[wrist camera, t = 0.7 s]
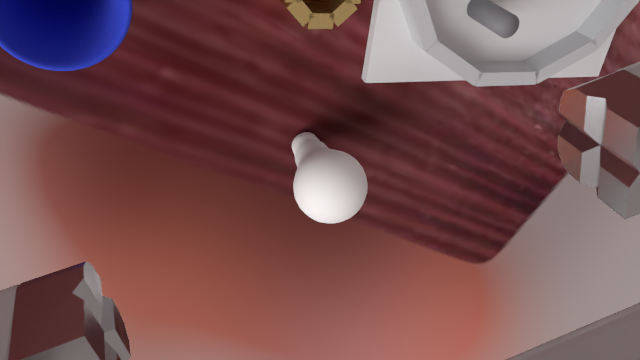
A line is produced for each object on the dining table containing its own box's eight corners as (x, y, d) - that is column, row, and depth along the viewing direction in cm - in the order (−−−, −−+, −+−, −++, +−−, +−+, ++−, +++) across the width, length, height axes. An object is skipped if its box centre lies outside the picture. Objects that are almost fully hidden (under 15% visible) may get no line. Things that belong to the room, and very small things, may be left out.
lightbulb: (259, 158, 56) (292, 229, 48) (288, 101, 54) (329, 165, 46) (314, 174, 60) (355, 245, 51) (344, 121, 57) (392, 185, 49)
